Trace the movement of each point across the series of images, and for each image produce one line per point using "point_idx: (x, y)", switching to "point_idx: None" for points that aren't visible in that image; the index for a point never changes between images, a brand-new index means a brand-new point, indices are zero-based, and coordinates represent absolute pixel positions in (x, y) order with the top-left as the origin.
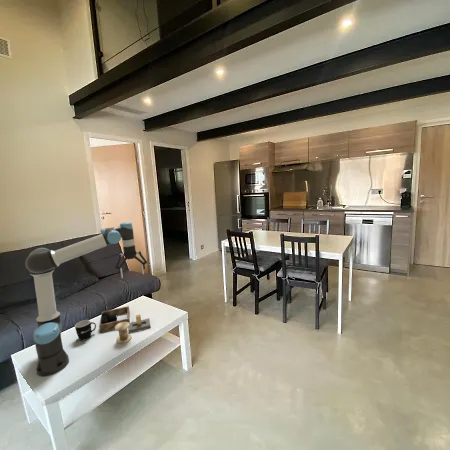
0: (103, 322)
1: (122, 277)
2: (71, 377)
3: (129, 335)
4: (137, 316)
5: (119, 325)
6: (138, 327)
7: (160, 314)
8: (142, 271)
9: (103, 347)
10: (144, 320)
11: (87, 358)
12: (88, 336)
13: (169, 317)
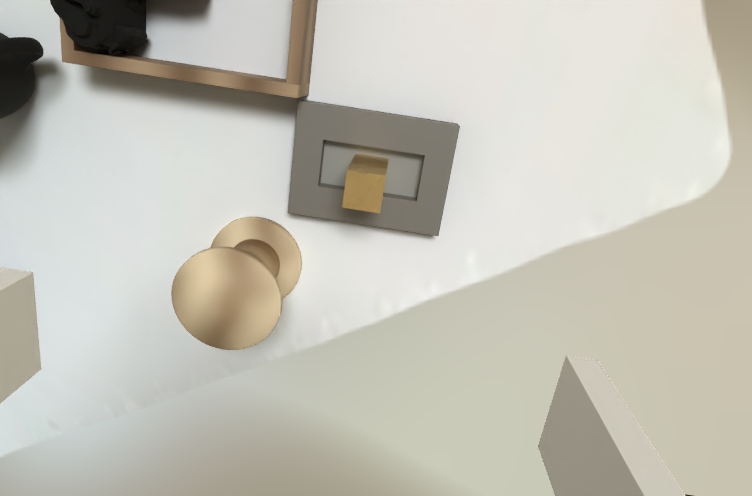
0: (88, 46)
1: (21, 381)
2: (24, 416)
3: (289, 253)
4: (356, 202)
5: (206, 287)
6: (356, 215)
7: (568, 71)
8: (581, 404)
9: (139, 270)
10: (417, 138)
11: (66, 321)
12: (18, 108)
13: (606, 170)
